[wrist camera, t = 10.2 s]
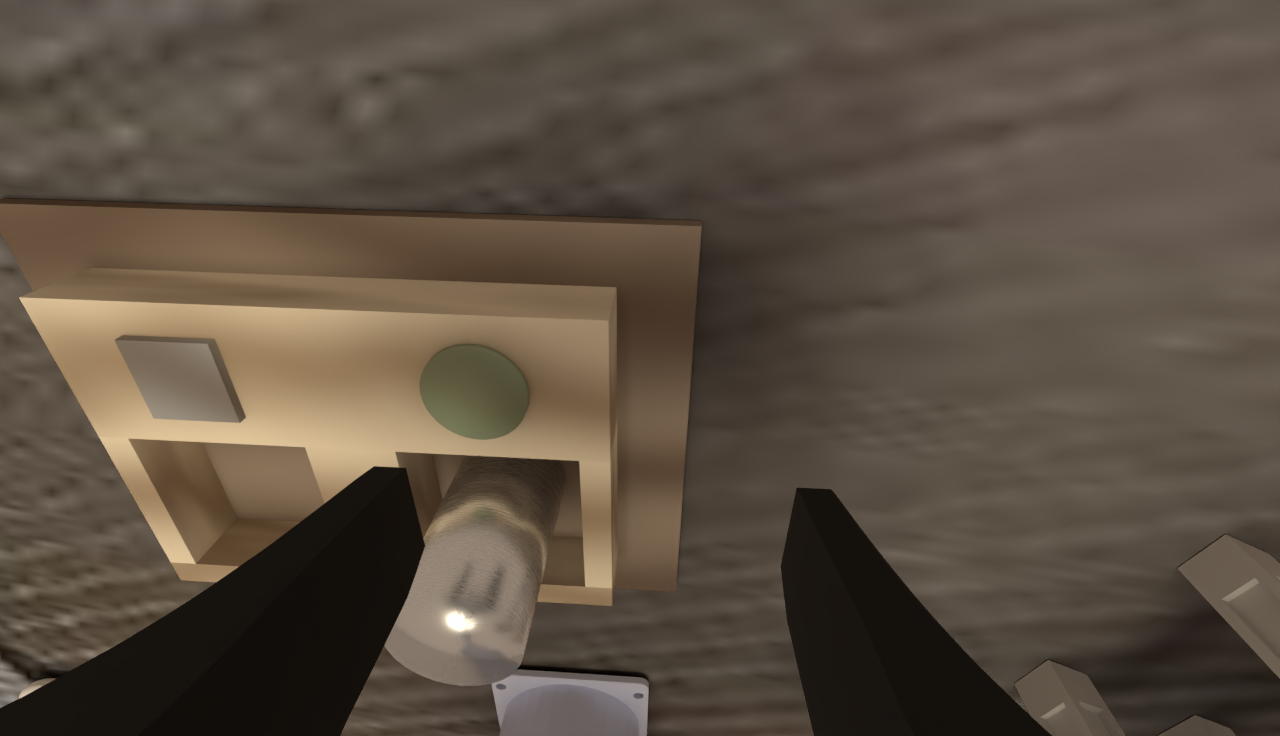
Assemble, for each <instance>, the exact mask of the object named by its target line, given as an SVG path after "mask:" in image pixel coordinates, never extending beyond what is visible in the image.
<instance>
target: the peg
mask: <svg viewBox="0 0 1280 736" xmlns="http://www.w3.org/2000/svg"><path fill="white" fill-rule="evenodd" d="M565 485H566V477H565V472H564V469H563V467H562V465H561V463H560V461H559V460H550V459H530V458H510V457H490V456H470V455H465V457H464V459H463V460H462V462H461V464H460V466H459V468H458V470H457V472H456V474H455V476H454V478H453V480H452V482H451V484H450V486H449V488H448V490H447V492H446V494H445V496H444V498H443V500H442V502H441V504H440V506H439V508H438V510H437V512H436V514H435V516H434V518H433V520H432V522H431V524H430V526H429V528H428V530H427V532H426V534H425V536H424V538H423V539H424V543H425V548H424V551H423V554H422V557H421V560H420V563H419V566H418V569H417V572H416V575H415V578H414V581H413V583H412V586H411V589H410V592H409V594H408V597H407V599H406V601H405V604H404V606H403V608H402V610H401V612H400V614H399V616H398V618H397V620H396V622H395V624H394V626H393V628H392V630H391V633H390V635H389V637H388V639H387V641H386V643H385V647H386V649H387V650H388V652H389V653H390V654H391V655H392V656H393V657H394V658H395V659H396V660H397V661H398V662H399V663H401V664H402V665H403V666H405V667H406V668H408V669H409V670H411V671H413V672H415V673H417V674H419V675H421V676H423V677H426V678H428V679H431V680H434V681H438V682H441V683H446V684H451V685H459V686H480V685H487V684H492V683H495V682H498V681H501V680H503V679H505V678H507V677H509V676H510V675H512V674H513V673H514V672H515V671H516V670H517V669H518V667H519V666H520V664H521V662H522V660H523V656H524V652H525V648H526V644H527V640H528V635H529V631H530V627H531V623H532V619H533V615H534V611H535V607H536V603H537V599H538V595H539V591H540V587H541V583H542V579H543V575H544V571H545V567H546V563H547V559H548V555H549V551H550V547H551V543H552V539H553V535H554V531H555V527H556V523H557V519H558V514H559V510H560V506H561V502H562V498H563V494H564V490H565Z"/></svg>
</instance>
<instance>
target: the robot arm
mask: <svg viewBox="0 0 1280 736" xmlns="http://www.w3.org/2000/svg"><path fill="white" fill-rule="evenodd" d="M424 548H425V543H424V539H423V535H422V531H421V527H420V523H419V519H418V515H417V511H416V507H415V502H414V498H413V494H412V490H411V486H410V482H409V478H408V474H407V470H406V468H399V467H379V466H374V467H372V468H371V469H370V470H368V471H367V472H365V473H364V474H363V475H361V476H360V477H358V478H357V479H356V480H354V481H353V482H352V483H351V484H349V485H348V486H347V487H345V488H344V489H343V490H341V491H340V492H339V493H337V494H336V495H335V496H334V497H332V498H331V499H330V500H328V501H327V502H326V503H324V504H323V505H322V506H321V507H319V508H318V509H317V510H315V511H314V512H313V513H311V514H310V515H309V516H307V517H306V518H305V519H304V520H302V521H301V522H300V523H298V524H297V525H296V526H294V527H293V528H292V529H290V530H289V531H288V532H286V533H285V534H284V535H282V536H281V537H280V538H278V539H277V540H276V541H274V542H273V543H272V544H270V545H269V546H268V547H266V548H265V549H263V550H262V551H260V552H259V553H258V554H256V555H255V556H253V557H252V558H250V559H249V560H248V561H246V562H245V563H243V564H242V565H240V566H239V567H238V568H236V569H235V570H233V571H232V572H230V573H229V574H228V575H226V576H225V577H223V578H222V579H221V580H219V581H218V582H216V583H215V584H213V585H212V586H211V587H209V588H208V589H206V590H205V591H203V592H202V593H200V594H199V595H197V596H196V597H194V598H193V599H191V600H190V601H188V602H186V603H185V604H183V605H182V606H180V607H179V608H177V609H175V610H174V611H172V612H171V613H169V614H168V615H166V616H164V617H163V618H161V619H159V620H158V621H156V622H154V623H153V624H151V625H150V626H148V627H146V628H145V629H143V630H141V631H140V632H138V633H136V634H135V635H133V636H132V637H130V638H128V639H126V640H125V641H123V642H121V643H120V644H118V645H116V646H115V647H113V648H111V649H109V650H107V651H106V652H104V653H102V654H100V655H98V656H97V657H95V658H93V659H91V660H89V661H87V662H86V663H84V664H82V665H80V666H78V667H77V668H75V669H73V670H71V671H69V672H67V673H66V674H64V675H62V676H60V677H58V678H57V679H55V680H53V681H51V682H49V683H47V684H46V685H44V686H42V687H40V688H38V689H36V690H35V691H33V692H31V693H29V694H27V695H25V696H23V697H21V698H20V699H18V700H16V701H14V702H12V703H10V704H8V705H6V706H4V707H2V708H0V736H340V735H341V732H342V730H343V728H344V726H345V724H346V721H347V719H348V717H349V715H350V713H351V711H352V709H353V707H354V705H355V703H356V701H357V699H358V697H359V695H360V693H361V691H362V689H363V687H364V685H365V683H366V681H367V679H368V677H369V675H370V673H371V671H372V669H373V667H374V665H375V663H376V661H377V659H378V657H379V655H380V653H381V651H382V649H383V647H384V645H385V643H386V641H387V639H388V637H389V635H390V633H391V630H392V628H393V626H394V624H395V622H396V620H397V618H398V616H399V614H400V612H401V610H402V608H403V606H404V604H405V601H406V599H407V597H408V594H409V592H410V589H411V586H412V583H413V581H414V578H415V575H416V572H417V569H418V566H419V563H420V560H421V557H422V554H423V551H424ZM781 571H782V580H783V590H784V598H785V606H786V614H787V622H788V626H789V630H790V635H791V639H792V644H793V648H794V652H795V657H796V661H797V665H798V669H799V674H800V678H801V682H802V686H803V691H804V695H805V699H806V703H807V707H808V712H809V716H810V720H811V724H812V729H813V733H814V736H1052V735H1051V734H1050V733H1049V732H1048V731H1047V730H1045V729H1044V728H1043V727H1042V726H1041V725H1040V724H1039V723H1038V722H1037V721H1036V720H1035V719H1033V718H1032V717H1031V716H1030V715H1029V714H1028V713H1027V712H1026V711H1025V710H1024V709H1022V708H1021V707H1020V706H1019V705H1018V704H1017V703H1016V702H1015V701H1014V700H1013V699H1012V698H1011V697H1010V696H1009V695H1008V694H1007V693H1006V692H1005V691H1004V690H1003V689H1002V688H1001V687H1000V686H999V685H998V684H997V683H996V682H995V681H993V680H992V679H991V678H990V677H989V676H988V675H987V674H986V673H985V672H984V671H983V670H982V669H981V668H980V667H979V666H978V665H977V664H976V663H975V662H974V661H973V659H972V658H971V657H970V656H969V655H968V654H967V653H966V652H965V651H964V650H963V649H962V648H961V647H960V646H959V645H958V644H957V643H956V642H955V641H954V639H953V638H952V637H951V636H950V635H949V634H948V633H947V632H946V631H945V629H944V628H943V627H942V626H941V625H940V624H939V623H938V622H937V621H936V620H935V618H934V617H933V616H932V615H931V614H930V613H929V612H928V611H927V609H926V608H925V607H924V606H923V605H922V604H921V603H920V601H919V600H918V599H917V598H916V597H915V596H914V594H913V593H912V592H911V591H910V589H909V588H908V587H907V586H906V585H905V583H904V582H903V581H902V580H901V579H900V577H899V576H898V575H897V574H896V573H895V571H894V570H893V569H892V568H891V567H890V565H889V564H888V563H887V562H886V560H885V559H884V558H883V557H882V555H881V554H880V553H879V551H878V550H877V549H876V548H875V546H874V545H873V544H872V542H871V541H870V540H869V538H868V537H867V536H866V535H865V533H864V532H863V531H862V529H861V528H860V527H859V525H858V524H857V523H856V521H855V520H854V519H853V517H852V516H851V515H850V513H849V512H848V511H847V509H846V508H845V507H844V505H843V504H842V502H841V501H840V500H839V498H838V497H837V496H836V494H835V493H834V492H833V491H832V490H831V489H812V488H797V489H796V494H795V499H794V504H793V509H792V514H791V519H790V524H789V529H788V534H787V539H786V544H785V548H784V553H783V558H782V563H781ZM491 685H492V690H493V695H494V700H495V705H496V710H497V715H498V720H499V725H500V734H499V736H647V719H648V695H649V683H648V681H647V680H646V679H644V678H641V677H629V676H614V675H598V674H583V673H568V672H552V671H537V670H522V669H517V670H516V671H515V672H514V673H513V674H512V675H510V676H509V677H507V678H505V679H503V680H501V681H498V682H495V683H492V684H491Z"/></svg>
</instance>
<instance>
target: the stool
mask: <svg viewBox="0 0 1280 736" xmlns="http://www.w3.org/2000/svg"><path fill="white" fill-rule="evenodd" d="M1177 569H1178V570H1179V571H1180V572H1181V573H1182V574H1183V575H1184V576H1185V577H1186V578H1187V579H1188V581H1189V582H1190V583H1191V584H1192V585H1193V586H1194V587H1195V588H1196V589H1197V590H1198V591H1199V592H1200V593H1201V594H1202V596H1203V597H1204V598H1205V599H1206V600H1207V601H1208V602H1209V603H1210V604H1211V605H1212V606H1213V607H1214V608H1215V610H1216V611H1217V612H1218V613H1219V614H1220V615H1221V616H1222V617H1223V618H1224V619H1225V620H1226V621H1227V622H1228V624H1229V625H1230V626H1231V627H1232V628H1233V629H1234V630H1235V631H1236V632H1237V633H1238V634H1239V635H1240V636H1241V638H1242V639H1243V640H1244V641H1245V642H1246V643H1247V644H1248V645H1249V646H1250V647H1251V648H1252V649H1253V650H1254V651H1255V653H1256V654H1257V655H1258V656H1259V657H1260V658H1261V659H1262V660H1263V661H1264V662H1265V663H1266V664H1267V665H1268V667H1269V668H1270V669H1271V670H1272V671H1273V672H1274V673H1275V674H1276V675H1277V676H1278V677H1279V678H1280V563H1279V562H1278V561H1277V560H1275V559H1274V558H1273V557H1272V556H1271V555H1270V554H1268V553H1266V552H1264V551H1262V550H1259V549H1257V548H1255V547H1253V546H1251V545H1248V544H1246V543H1244V542H1242V541H1240V540H1237V539H1235V538H1233V537H1231V536H1229V535H1226V534H1225V535H1224V536H1222V537H1221V538H1220V539H1218V540H1217V541H1215V542H1214V543H1212V544H1211V545H1210V546H1208V547H1207V548H1205V549H1204V550H1202V551H1201V552H1200V553H1198V554H1197V555H1195V556H1194V557H1193V558H1191V559H1190V560H1188V561H1187V562H1185V563H1184V564H1183V565H1181V566H1180V567H1178V568H1177ZM1014 685H1015V687H1016V689H1017V691H1018V693H1019V694H1020V696H1021V698H1022V700H1023V702H1024V704H1025V706H1026V708H1027V710H1028V712H1029V714H1030V716H1031V717H1032V718H1033V719H1035V720H1036V721H1037V722H1038V723H1039V724H1040V725H1041V726H1042V727H1043V728H1044V729H1045V730H1047V731H1048V732H1049V733H1050V734H1051V735H1052V736H1126V735H1125V734H1124V732H1123V731H1122V729H1121V727H1120V726H1119V724H1118V723H1117V721H1116V720H1115V718H1114V716H1113V715H1112V713H1111V712H1110V710H1109V709H1108V707H1107V705H1106V704H1105V702H1104V701H1103V699H1102V698H1101V696H1100V694H1099V693H1098V691H1097V690H1096V688H1095V687H1094V685H1093V683H1092V682H1091V680H1090V679H1089V677H1088V676H1087V674H1084V673H1081V672H1079V671H1076V670H1073V669H1071V668H1068V667H1066V666H1063V665H1060V664H1058V663H1055V662H1052V661H1050V660H1047V661H1046V662H1044V663H1043V664H1042V665H1040V666H1039V667H1037V668H1036V669H1034V670H1033V671H1032V672H1030V673H1029V674H1027V675H1026V676H1025V677H1023V678H1022V679H1020V680H1019V681H1017V682H1016V683H1015V684H1014ZM1158 736H1236V735H1235V734H1234V733H1233V731H1232V730H1231V729H1230V728H1228V727H1225V726H1223V725H1220V724H1217V723H1215V722H1212V721H1210V720H1207V719H1204V718H1202V717H1199V716H1196V715H1194V716H1192V717H1191V718H1189V719H1187V720H1185V721H1183V722H1182V723H1180V724H1178V725H1176V726H1174V727H1173V728H1171V729H1169V730H1167V731H1165V732H1163V733H1162V734H1160V735H1158Z"/></svg>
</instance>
